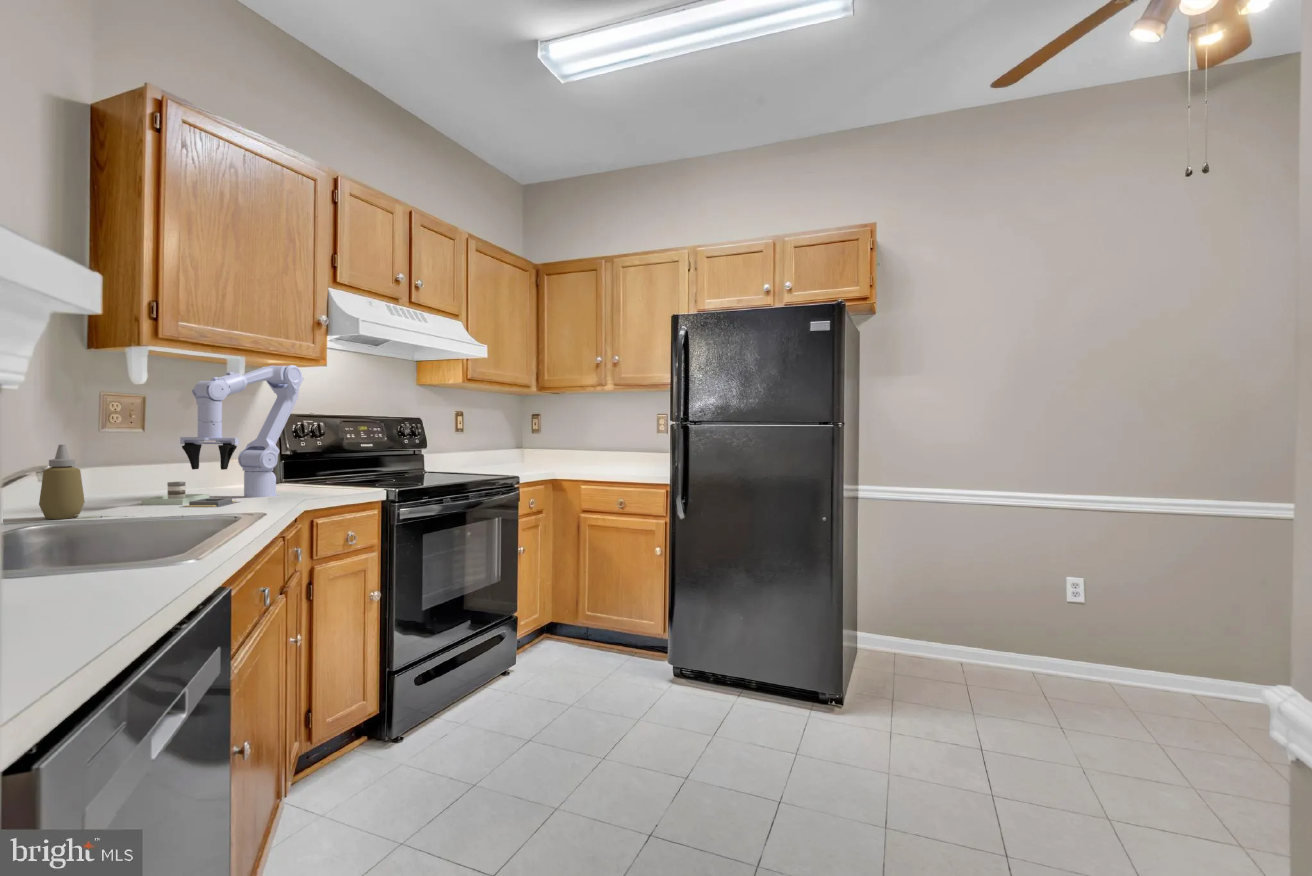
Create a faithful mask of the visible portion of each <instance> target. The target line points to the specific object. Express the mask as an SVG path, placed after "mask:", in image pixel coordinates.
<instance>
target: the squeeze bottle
mask: <svg viewBox="0 0 1312 876" xmlns="http://www.w3.org/2000/svg"><path fill="white" fill-rule="evenodd" d="M75 466H76V459H74V458H70V455H69V453H68V448H67V446H66V444H58V446H57V449H56V453H55V457H54V459H48V468H46V469H44V470H43V472H42V481H41V486H40V494H39V501H38V502H39V503H38V506H39V508H40V510H41V512H42V514H43V517H44V518H45V520H65V519H66V520H68V519H73V518H78V517H79V515H80V514H81V512H82V509H83V507H84V504H85V497H84V496H85V495H84V494H85V493H84V489H83V480H82V473H81V469H79V468H78V467H75Z"/></svg>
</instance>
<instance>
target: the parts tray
mask: <svg viewBox="0 0 1312 876" xmlns="http://www.w3.org/2000/svg"><path fill="white" fill-rule="evenodd" d="M210 495H211V494H210V493H185V498H182V499H168V494H164V495H163V494H162V495H158V496H152V497H147V498H142V499H141V506H168V505H169V506H174V505H175V506H179V505H180V506H181V505H182V506H185V505H189V502H190V501H195V500H199V499H204V498H211V497H210Z"/></svg>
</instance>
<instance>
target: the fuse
mask: <svg viewBox="0 0 1312 876" xmlns="http://www.w3.org/2000/svg"><path fill="white" fill-rule="evenodd" d="M186 483H187V482H186V481H169V482H167V483H166V484H167V495H168V499H182V498H185V494H186Z"/></svg>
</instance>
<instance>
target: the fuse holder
mask: <svg viewBox="0 0 1312 876" xmlns="http://www.w3.org/2000/svg"><path fill="white" fill-rule="evenodd" d="M238 503H240V501H236V500H233V498H228V497H227V498H226V497H225V498H223V497H222V498H216V497H215V498H213V497H212V498H211V497H210V498H204V499H199V500H195V501H190V502H189V504H185V505H182V506H181V505H180V508H221V507H226V506H230V505H234V504H238Z"/></svg>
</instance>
